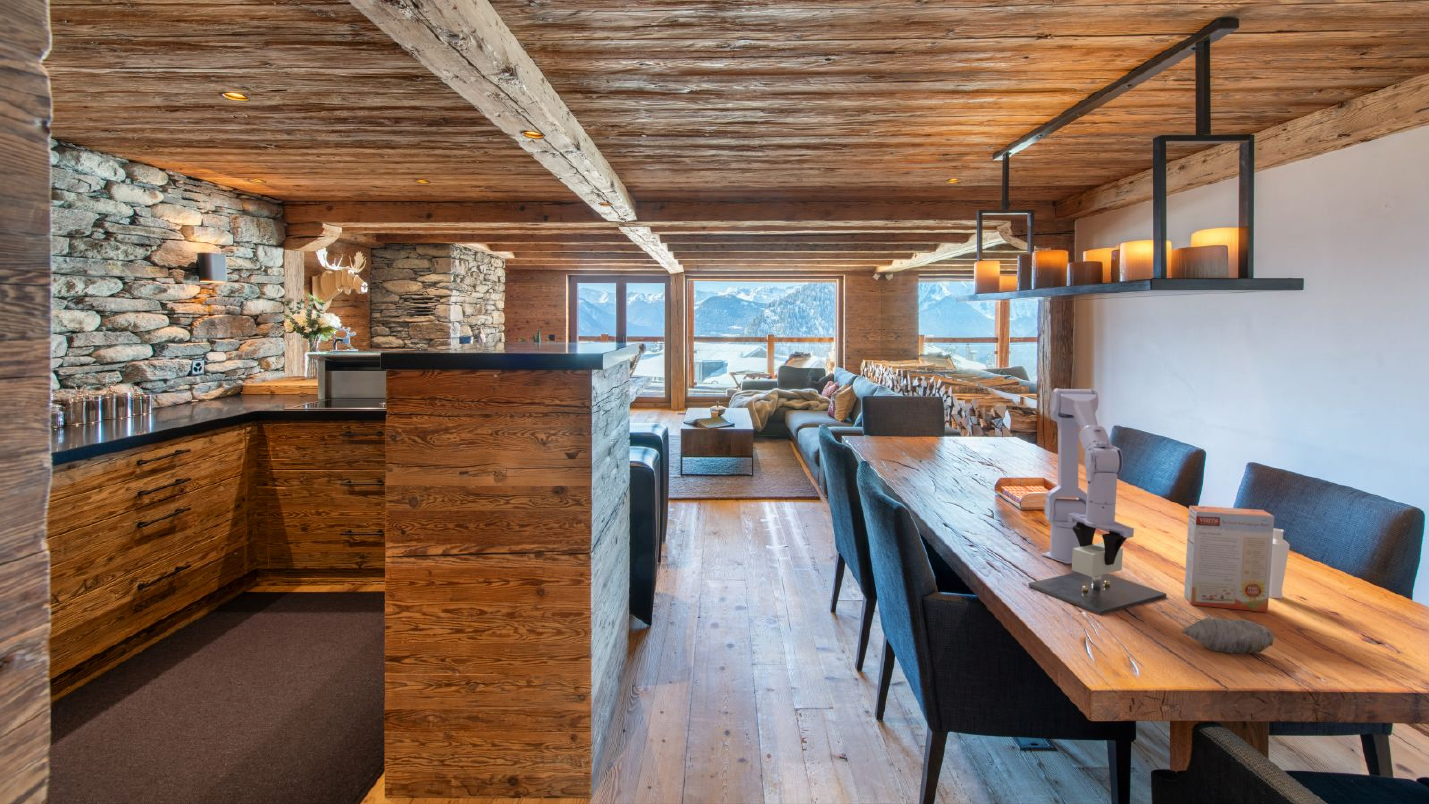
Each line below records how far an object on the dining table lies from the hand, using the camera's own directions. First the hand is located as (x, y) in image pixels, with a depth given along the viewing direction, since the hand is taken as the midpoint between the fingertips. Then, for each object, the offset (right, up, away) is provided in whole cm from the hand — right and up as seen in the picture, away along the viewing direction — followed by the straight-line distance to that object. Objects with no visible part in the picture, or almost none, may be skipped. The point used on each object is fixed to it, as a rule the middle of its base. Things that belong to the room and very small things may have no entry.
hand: (1097, 560), depth 159 cm
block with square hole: (0, -2, 0) cm, 2 cm away
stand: (0, -7, +1) cm, 7 cm away
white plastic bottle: (+38, -8, -2) cm, 39 cm away
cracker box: (+24, -8, -7) cm, 26 cm away
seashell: (+9, -11, -28) cm, 31 cm away
